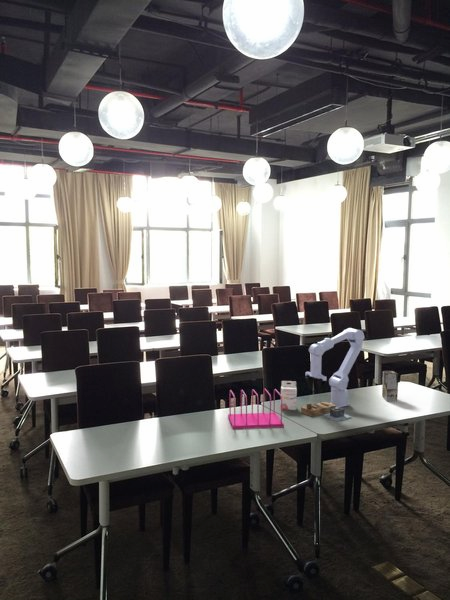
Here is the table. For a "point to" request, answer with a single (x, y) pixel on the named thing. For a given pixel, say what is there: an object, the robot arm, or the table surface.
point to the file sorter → (255, 415)
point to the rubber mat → (338, 417)
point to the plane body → (317, 408)
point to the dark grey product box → (337, 412)
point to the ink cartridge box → (289, 395)
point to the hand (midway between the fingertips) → (315, 391)
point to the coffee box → (390, 386)
